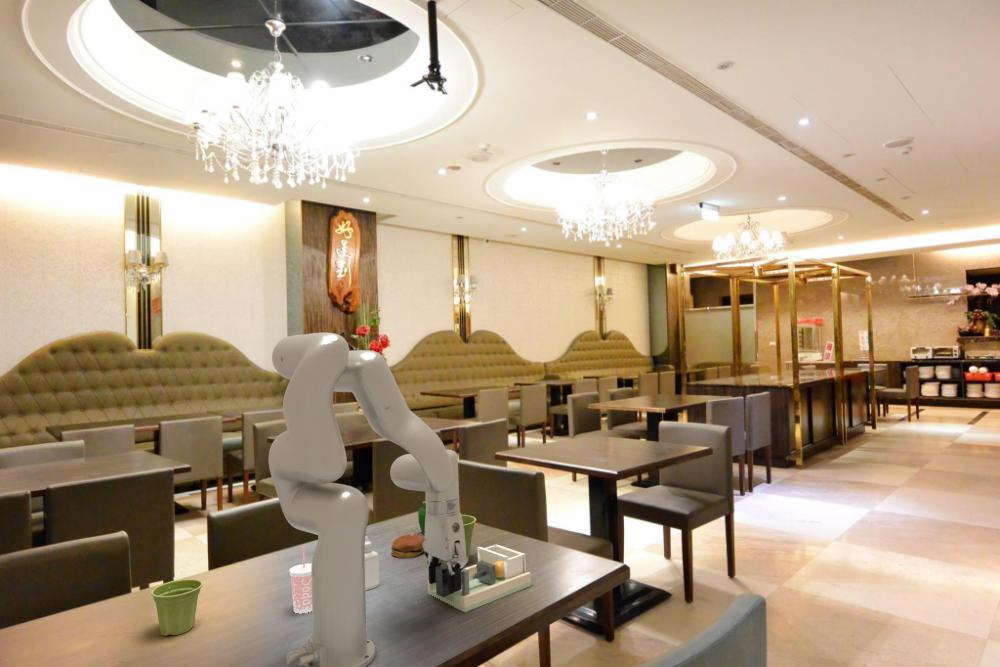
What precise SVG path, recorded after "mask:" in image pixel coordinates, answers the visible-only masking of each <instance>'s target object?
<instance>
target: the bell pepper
mask: <svg viewBox="0 0 1000 667" xmlns="http://www.w3.org/2000/svg"><path fill="white" fill-rule="evenodd" d="M422 504H423V505H426V500H424V501H422ZM417 515H418V524H419V527H420V530H421V533H423V534H424V535H425V518H426V506H425V507H424V506H422V507H419V509H418V511H417Z"/></svg>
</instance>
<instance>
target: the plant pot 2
mask: <svg viewBox="0 0 1000 667" xmlns="http://www.w3.org/2000/svg"><path fill="white" fill-rule="evenodd" d="M461 516H462V520H463V525H464V533H465V544H466V556H467V558H468V561H467V563H466V564H465V565H467V564H469V560H470V553H471V552H470V551H471V545H472V538H473V531H474V528H475V527H474V526H475V523H476V522H477V517H475V516H473V515H469V514H461ZM453 558H455V556H452V559H453ZM440 560H441V565H443V564H446V563H447V561H444V560H442V559H440ZM452 564H453V565H456V562H455V561H454V562H452Z"/></svg>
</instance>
